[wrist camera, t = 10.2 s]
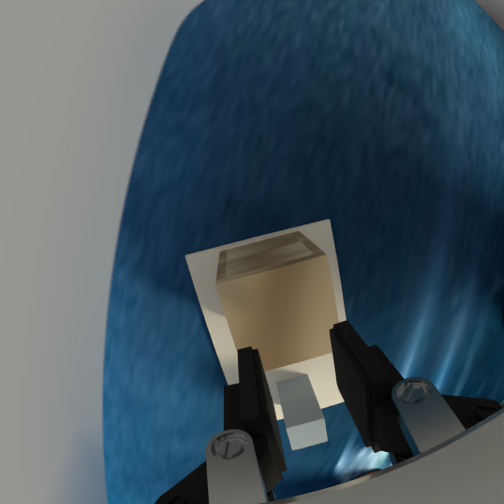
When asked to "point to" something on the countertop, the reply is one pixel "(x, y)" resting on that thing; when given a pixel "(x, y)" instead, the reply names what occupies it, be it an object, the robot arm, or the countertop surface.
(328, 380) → the post stand
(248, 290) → the wood grain cube
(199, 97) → the countertop surface
